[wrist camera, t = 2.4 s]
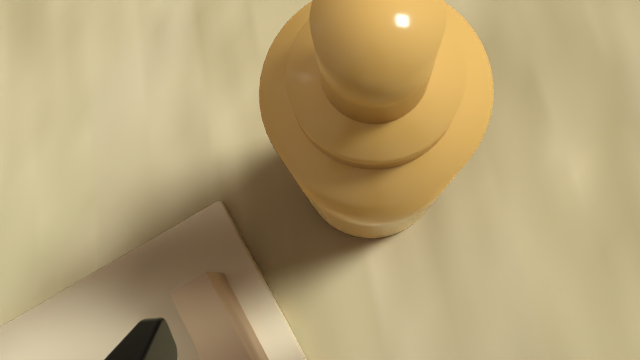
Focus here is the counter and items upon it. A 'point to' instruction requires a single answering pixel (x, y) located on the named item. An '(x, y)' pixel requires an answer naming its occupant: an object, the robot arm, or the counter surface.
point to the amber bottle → (375, 107)
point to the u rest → (164, 301)
